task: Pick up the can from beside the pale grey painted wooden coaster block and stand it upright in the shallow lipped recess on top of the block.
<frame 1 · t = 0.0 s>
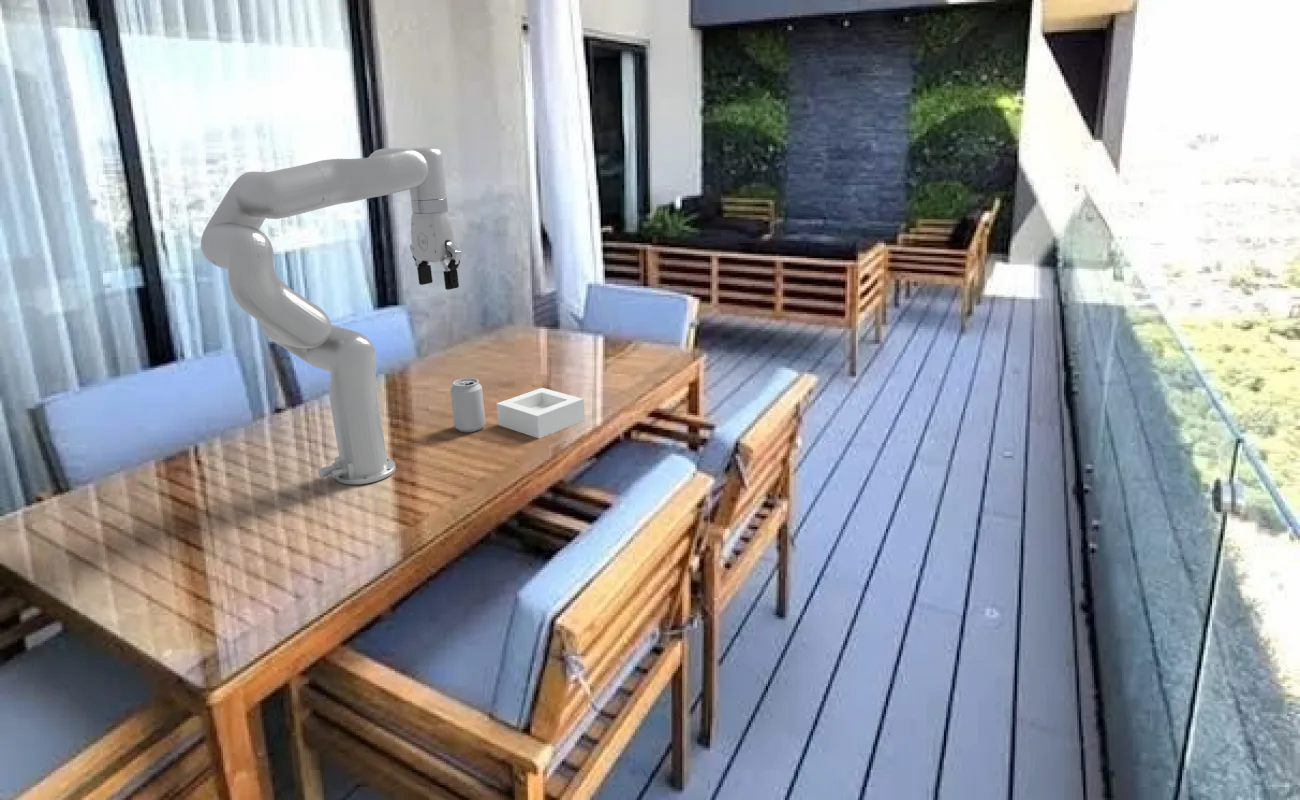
hand: (438, 286, 186), 37 cm above the table, tool pointing down, fingers open, 9 cm apart
can: (470, 428, 206), on the table
riser: (541, 424, 207), on the table
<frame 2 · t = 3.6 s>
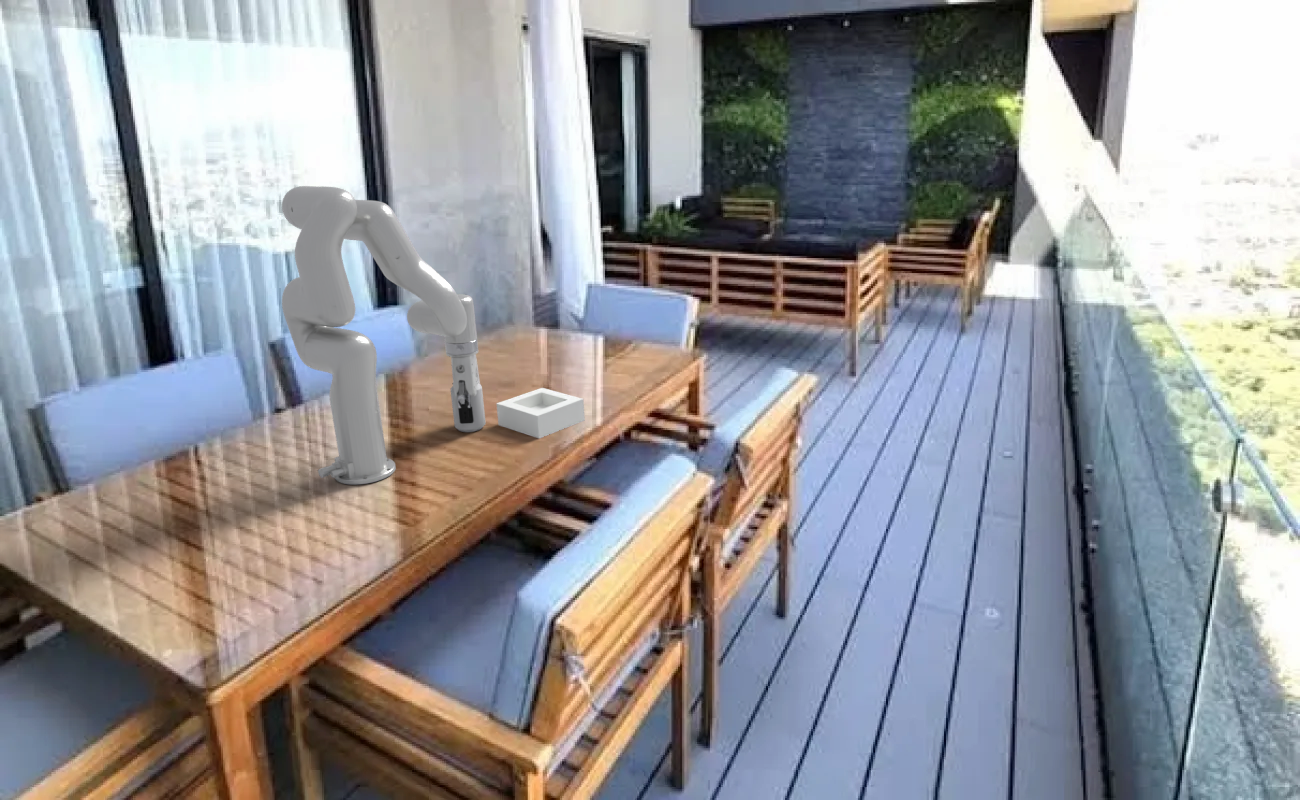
hand: (469, 416, 204), 3 cm above the table, tool pointing down, fingers closed on can, 7 cm apart
can: (470, 428, 206), on the table, touching gripper
everything else where it was.
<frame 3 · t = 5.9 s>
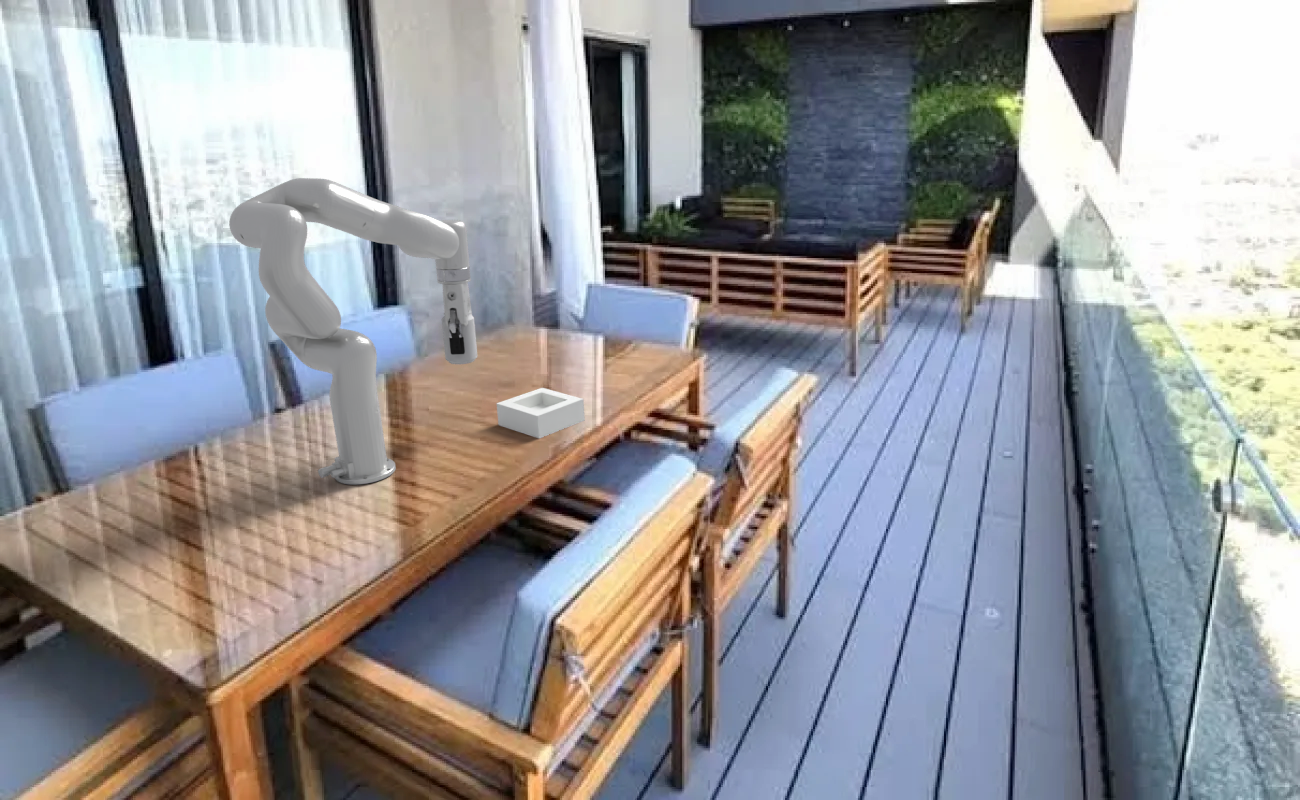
hand: (460, 349, 199), 20 cm above the table, tool pointing down, fingers closed on can, 7 cm apart
can: (461, 361, 199), point 17 cm above the table, touching gripper
everything else where it was.
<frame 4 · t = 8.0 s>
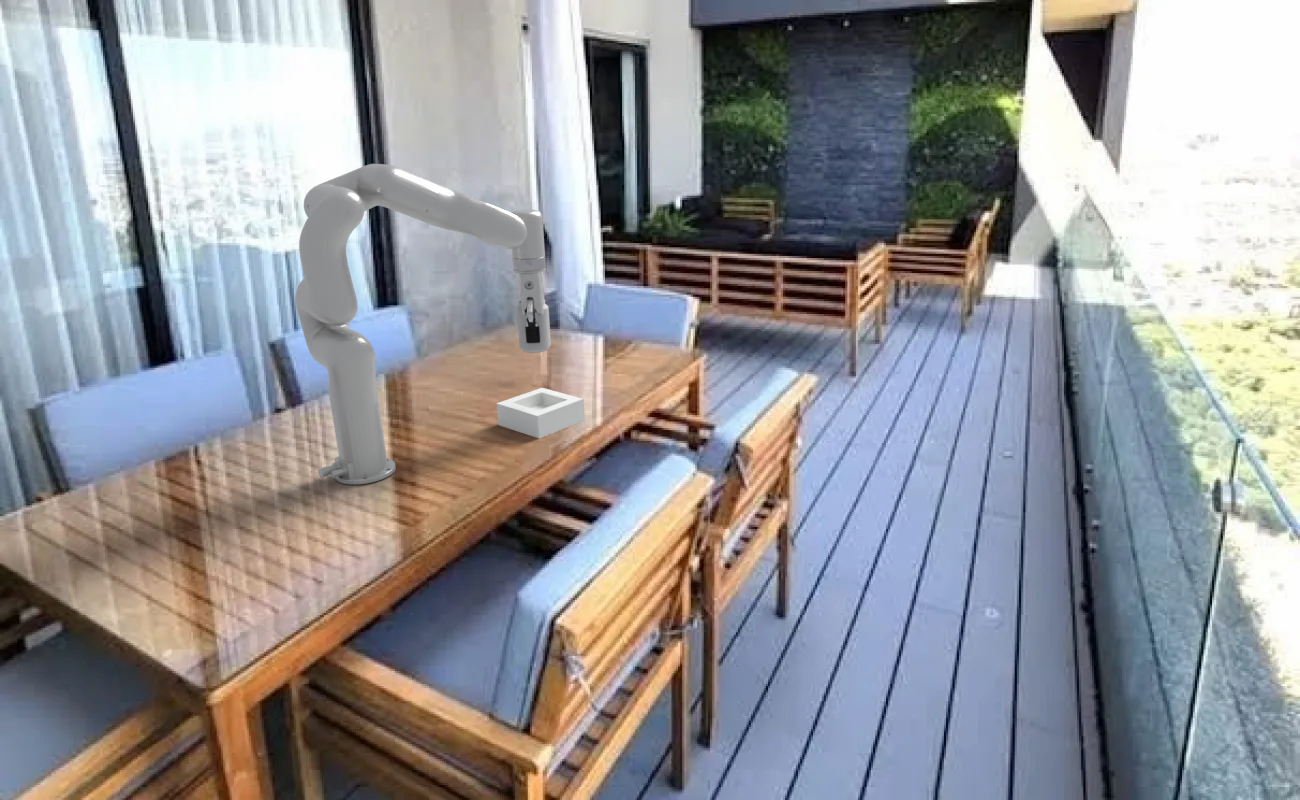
hand: (534, 337, 200), 22 cm above the table, tool pointing down, fingers closed on can, 7 cm apart
can: (535, 350, 201), point 19 cm above the table, touching gripper
everything else where it was.
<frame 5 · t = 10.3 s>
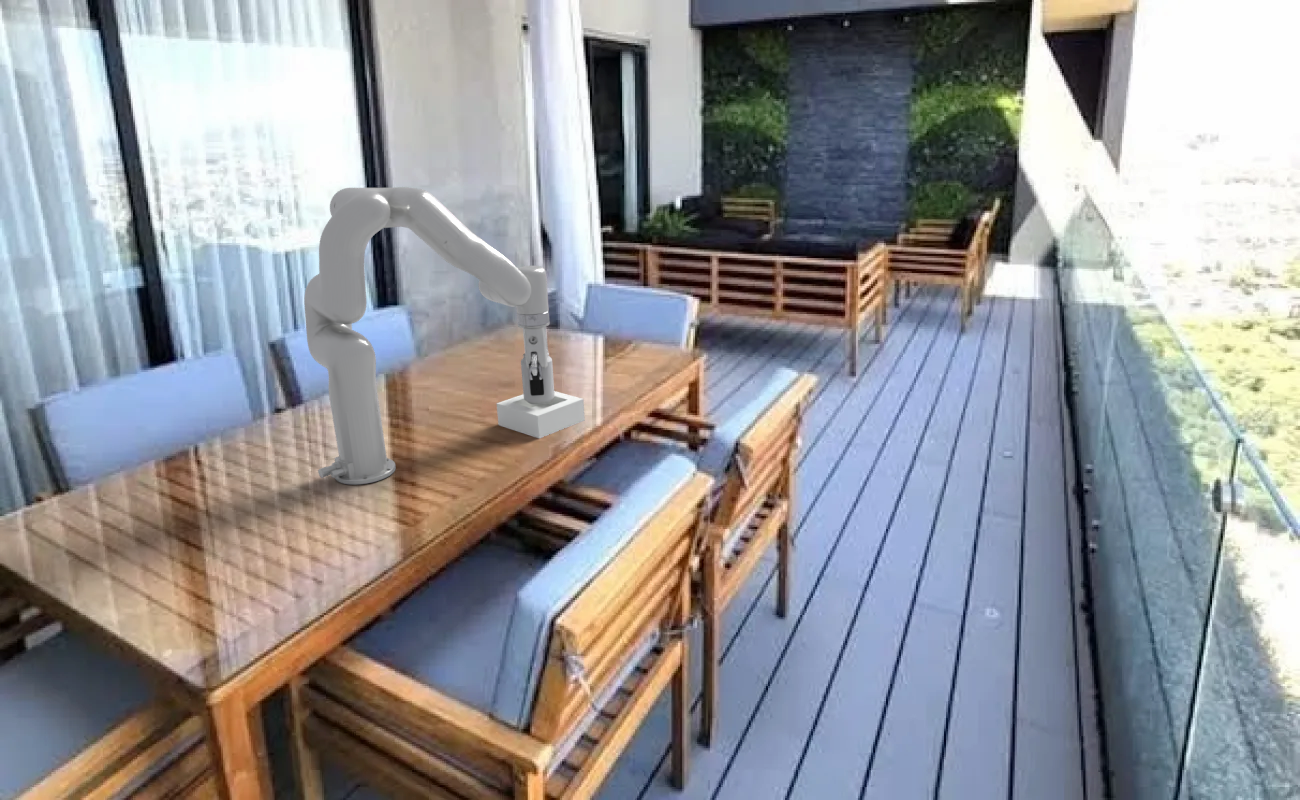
hand: (538, 389, 204), 9 cm above the table, tool pointing down, fingers closed on can, 7 cm apart
can: (539, 401, 205), point 6 cm above the table, touching gripper
everything else where it was.
when the fingers open (6 cm above the table, at t = 12.4 s): can stays where it is, resting on riser.
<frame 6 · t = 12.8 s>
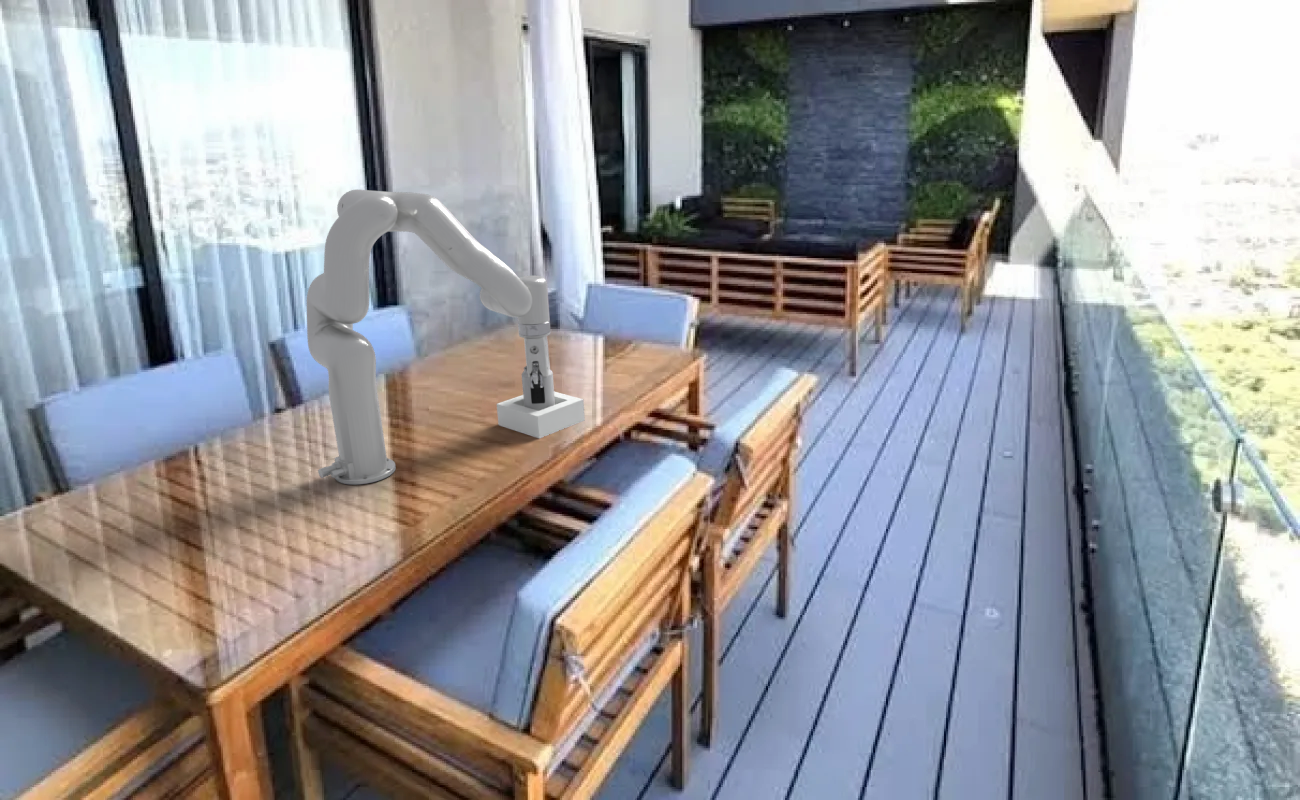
hand: (539, 396, 205), 7 cm above the table, tool pointing down, fingers open, 9 cm apart
can: (540, 413, 206), point 2 cm above the table, touching riser
riser: (541, 424, 208), on the table, touching can
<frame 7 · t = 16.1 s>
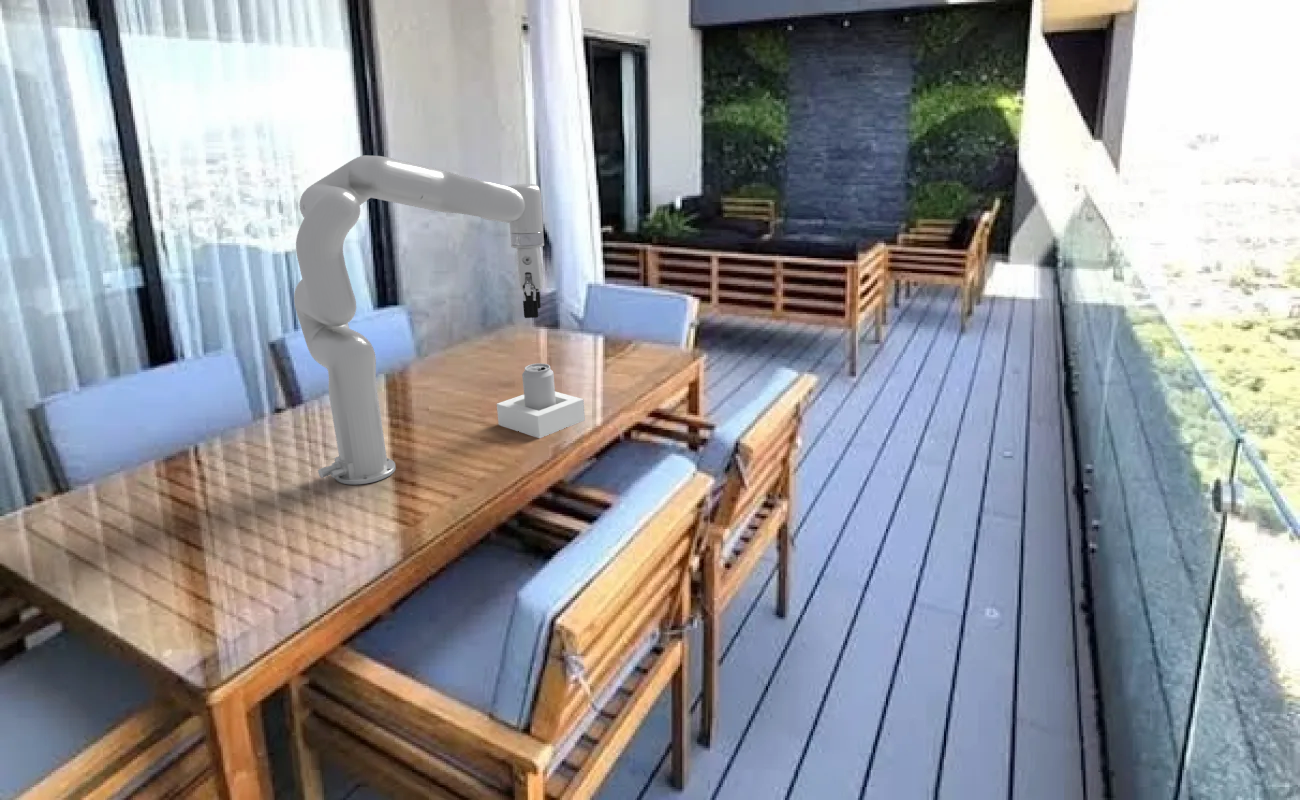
hand: (532, 312, 198), 28 cm above the table, tool pointing down, fingers open, 9 cm apart
nothing on the table moved.
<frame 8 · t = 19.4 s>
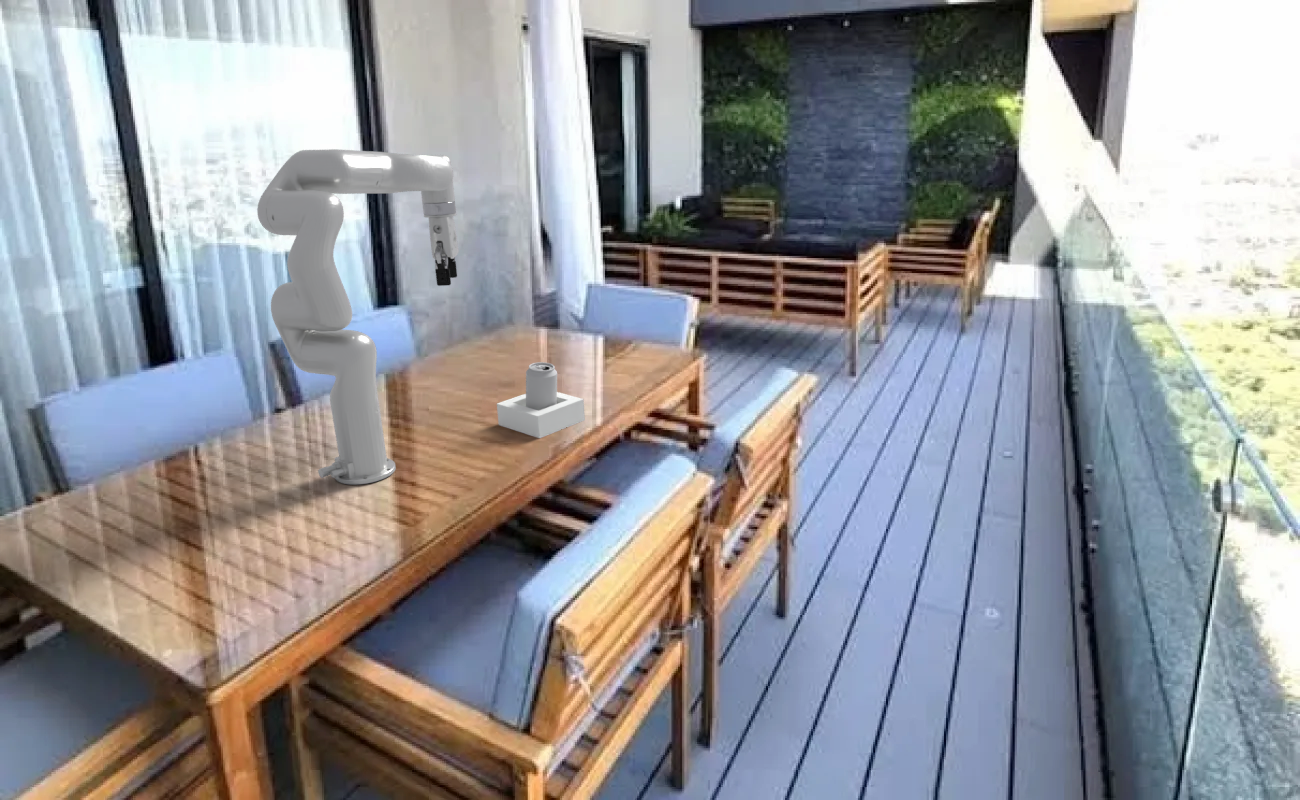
hand: (447, 281, 204), 34 cm above the table, tool pointing down, fingers open, 9 cm apart
at the end: can 0.1 cm off-centre on the riser, point 3.2 cm above the riser's base; can tilted 6°; can touching riser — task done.
